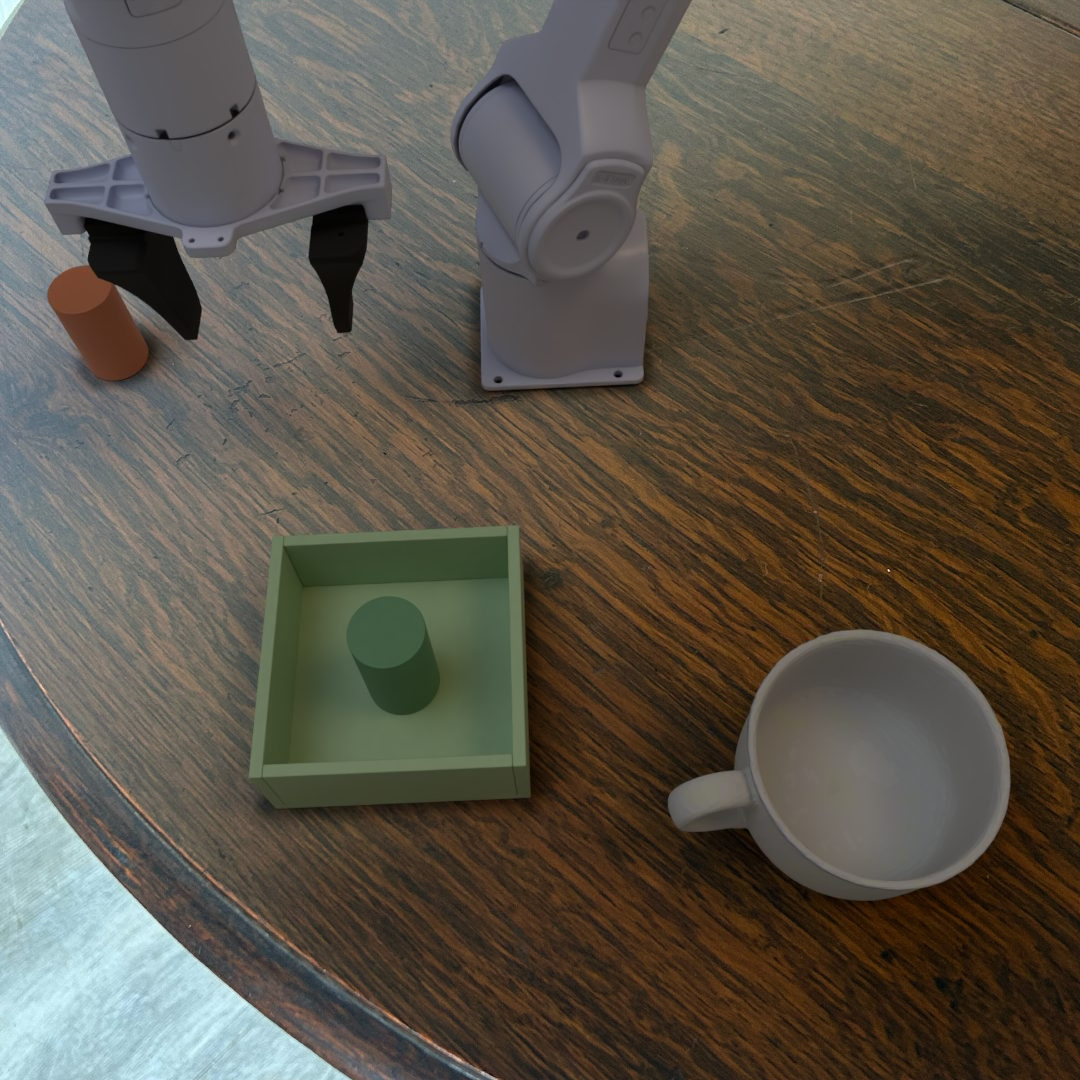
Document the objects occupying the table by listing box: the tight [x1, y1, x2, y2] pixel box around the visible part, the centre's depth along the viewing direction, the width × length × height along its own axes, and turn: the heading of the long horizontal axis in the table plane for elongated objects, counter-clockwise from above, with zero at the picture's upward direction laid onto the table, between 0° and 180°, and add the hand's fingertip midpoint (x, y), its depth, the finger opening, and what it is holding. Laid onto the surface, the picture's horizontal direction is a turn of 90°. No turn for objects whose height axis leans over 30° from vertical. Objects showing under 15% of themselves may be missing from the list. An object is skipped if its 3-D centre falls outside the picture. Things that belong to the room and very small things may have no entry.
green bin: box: [248, 524, 532, 810], centre depth 52 cm, size 12×12×5 cm
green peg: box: [346, 596, 440, 715], centre depth 51 cm, size 4×4×6 cm
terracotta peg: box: [46, 264, 150, 382], centre depth 63 cm, size 4×4×6 cm
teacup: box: [667, 628, 1012, 902], centre depth 47 cm, size 14×11×8 cm
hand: (269, 321), depth 54 cm, fingers open, 7 cm apart
